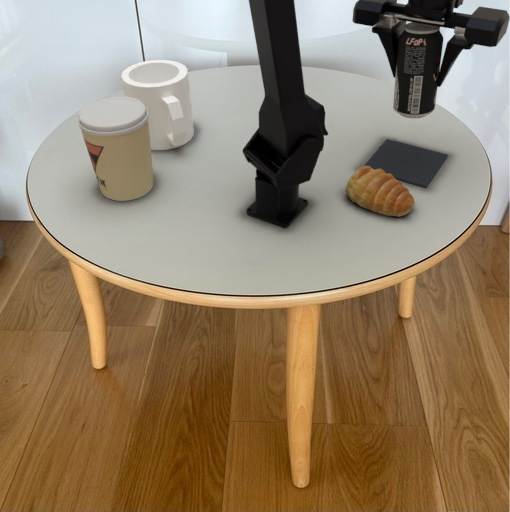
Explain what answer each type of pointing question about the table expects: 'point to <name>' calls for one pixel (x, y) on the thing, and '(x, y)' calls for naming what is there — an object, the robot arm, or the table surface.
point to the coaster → (407, 162)
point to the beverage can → (417, 70)
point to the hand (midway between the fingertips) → (417, 81)
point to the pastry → (379, 192)
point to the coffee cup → (118, 146)
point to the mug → (162, 100)
